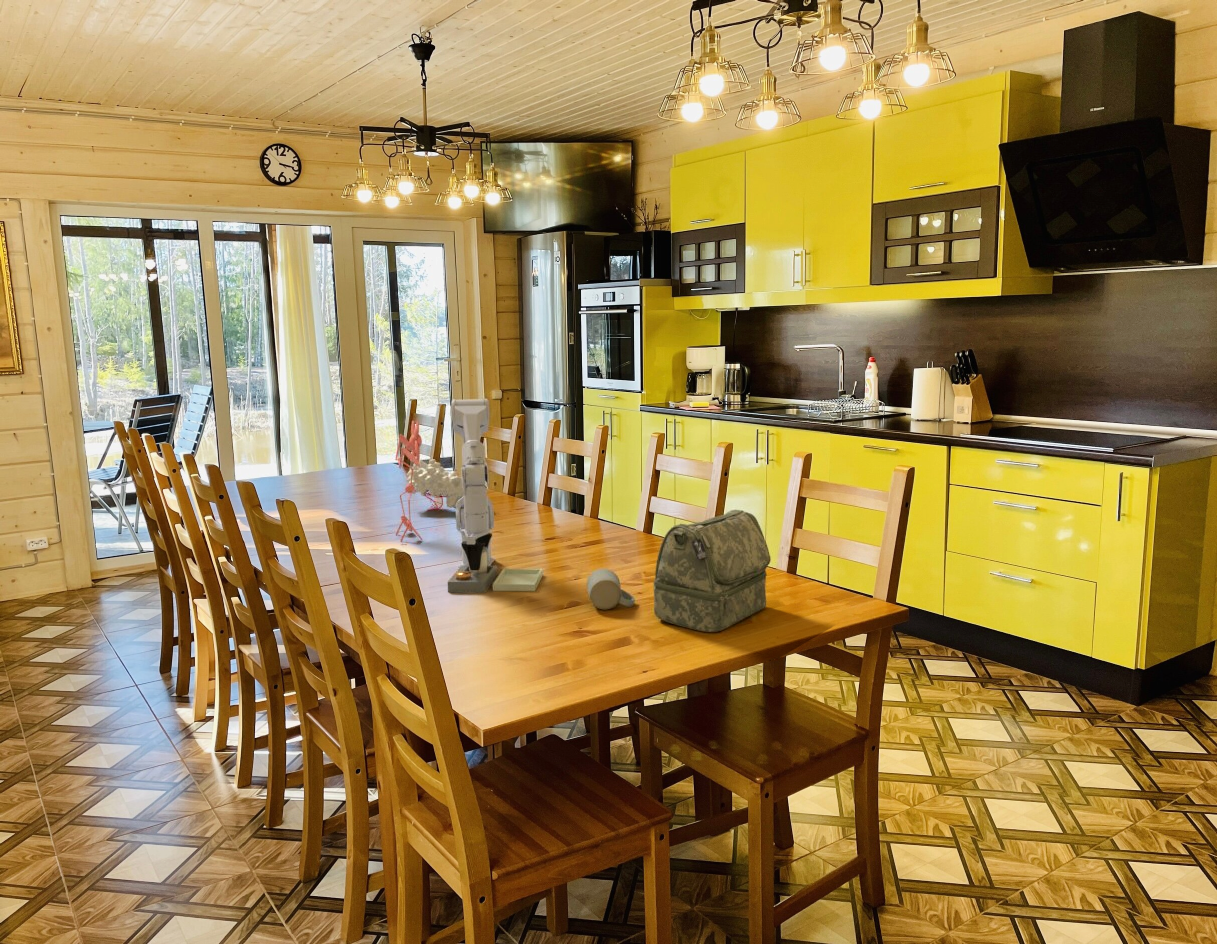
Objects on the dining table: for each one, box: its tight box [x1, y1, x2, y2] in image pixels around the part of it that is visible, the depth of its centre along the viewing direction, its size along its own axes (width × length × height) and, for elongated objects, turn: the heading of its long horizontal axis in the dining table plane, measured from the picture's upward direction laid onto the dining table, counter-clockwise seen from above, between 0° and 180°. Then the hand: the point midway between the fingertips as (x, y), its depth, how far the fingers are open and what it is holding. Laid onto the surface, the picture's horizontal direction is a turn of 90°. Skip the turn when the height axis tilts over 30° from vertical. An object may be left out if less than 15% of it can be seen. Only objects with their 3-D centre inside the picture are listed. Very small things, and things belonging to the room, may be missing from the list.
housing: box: [447, 565, 498, 593], centre depth 220 cm, size 15×9×2 cm, turn 176°
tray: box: [492, 568, 544, 592], centre depth 220 cm, size 14×10×2 cm
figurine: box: [394, 420, 444, 546], centre depth 269 cm, size 15×26×35 cm, turn 22°
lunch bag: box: [653, 509, 772, 633], centre depth 192 cm, size 26×18×22 cm
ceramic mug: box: [586, 568, 636, 611], centre depth 201 cm, size 11×8×8 cm
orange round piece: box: [455, 571, 471, 580], centre depth 216 cm, size 4×4×4 cm
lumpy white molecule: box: [406, 458, 464, 512], centre depth 310 cm, size 20×18×25 cm
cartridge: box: [469, 546, 487, 573], centre depth 223 cm, size 5×5×8 cm
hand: (478, 566), depth 223 cm, fingers open, 6 cm apart
